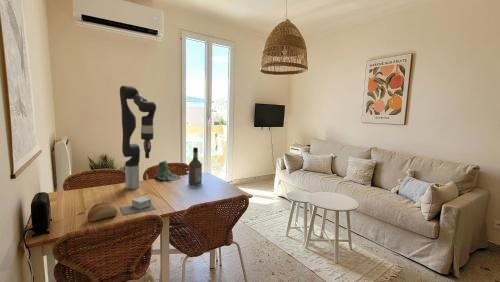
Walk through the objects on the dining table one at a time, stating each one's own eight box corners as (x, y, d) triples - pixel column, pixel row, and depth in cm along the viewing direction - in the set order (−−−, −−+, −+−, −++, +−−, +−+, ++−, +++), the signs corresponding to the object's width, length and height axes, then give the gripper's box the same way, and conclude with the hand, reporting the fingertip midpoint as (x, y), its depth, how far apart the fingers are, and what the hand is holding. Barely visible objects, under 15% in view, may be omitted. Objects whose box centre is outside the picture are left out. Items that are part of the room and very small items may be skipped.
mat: (119, 207, 150) (119, 207, 150) (151, 202, 161) (151, 202, 161) (122, 215, 141) (122, 214, 141) (155, 209, 151) (155, 208, 151)
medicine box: (131, 206, 153) (140, 209, 148) (131, 199, 152) (140, 202, 148) (142, 202, 160) (151, 205, 155) (142, 195, 159) (151, 198, 155)
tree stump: (178, 182, 208) (173, 161, 204) (154, 187, 206) (148, 167, 203) (181, 175, 226) (176, 156, 222) (159, 179, 224) (154, 161, 220)
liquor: (202, 183, 206) (203, 147, 202) (197, 186, 198) (197, 149, 194) (192, 181, 209) (193, 146, 205) (187, 184, 200) (187, 148, 196)
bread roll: (84, 219, 134) (83, 205, 133) (113, 211, 145) (113, 198, 144) (90, 225, 128) (89, 210, 127) (120, 216, 139) (120, 203, 138)
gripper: (155, 133, 159) (155, 159, 161) (151, 130, 170) (150, 155, 172) (143, 133, 155) (143, 160, 157) (139, 130, 165) (139, 156, 168)
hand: (147, 157), depth 165 cm, fingers closed
